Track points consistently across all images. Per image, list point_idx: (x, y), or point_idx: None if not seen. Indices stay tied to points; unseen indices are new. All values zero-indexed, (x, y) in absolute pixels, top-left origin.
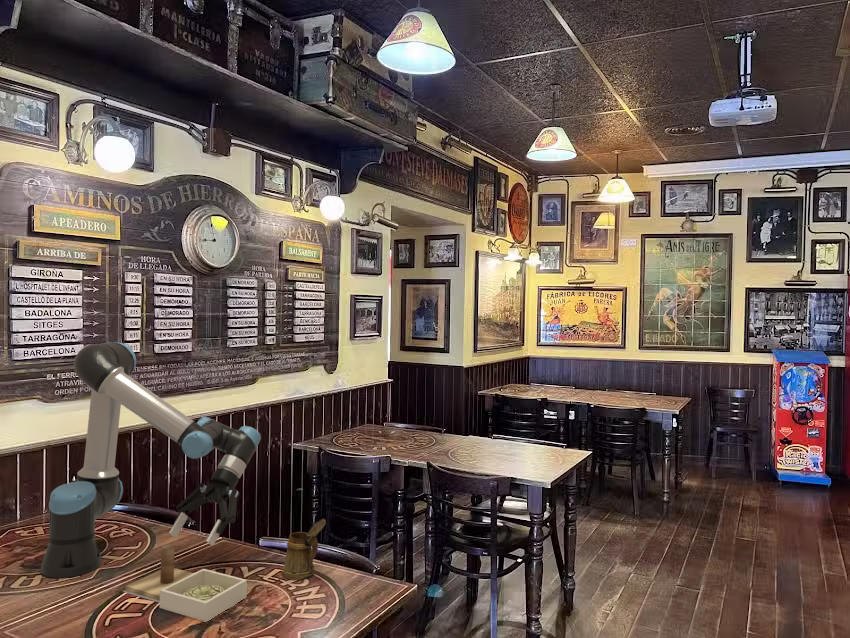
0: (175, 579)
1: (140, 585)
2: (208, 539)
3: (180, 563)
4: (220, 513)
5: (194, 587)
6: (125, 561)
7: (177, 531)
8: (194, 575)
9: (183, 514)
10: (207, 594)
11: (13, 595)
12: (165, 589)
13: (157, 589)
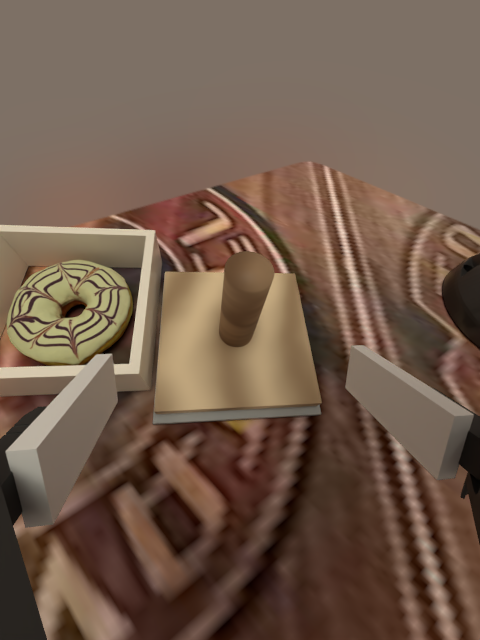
0: (225, 349)
1: (270, 288)
2: (99, 359)
3: (350, 485)
4: (6, 518)
5: (110, 307)
6: (470, 398)
7: (361, 389)
8: (134, 326)
9: (442, 422)
10: (43, 290)
11: (421, 210)
12: (146, 237)
13: (218, 291)
